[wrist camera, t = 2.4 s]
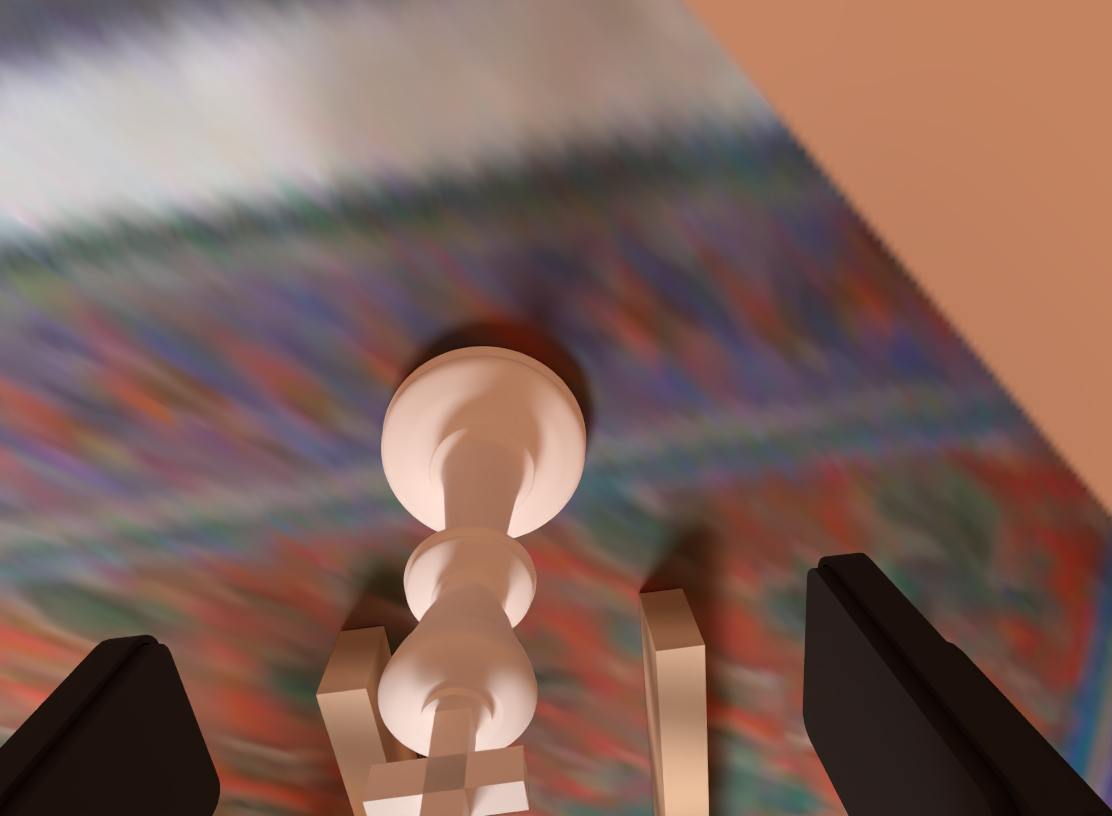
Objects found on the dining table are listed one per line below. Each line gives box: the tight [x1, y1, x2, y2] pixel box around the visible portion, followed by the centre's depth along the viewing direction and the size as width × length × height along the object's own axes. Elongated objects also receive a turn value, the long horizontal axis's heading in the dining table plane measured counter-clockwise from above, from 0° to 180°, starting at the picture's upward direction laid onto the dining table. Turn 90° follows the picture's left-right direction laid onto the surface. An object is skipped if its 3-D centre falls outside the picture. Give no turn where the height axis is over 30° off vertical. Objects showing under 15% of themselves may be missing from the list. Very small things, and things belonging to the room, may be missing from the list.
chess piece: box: [363, 346, 586, 816], centre depth 11 cm, size 5×5×10 cm
